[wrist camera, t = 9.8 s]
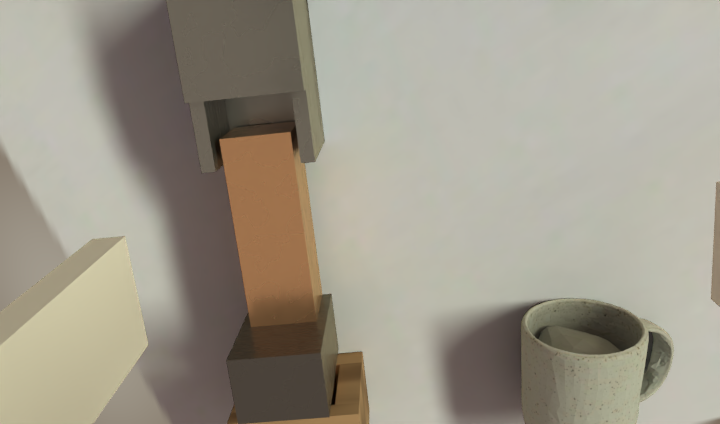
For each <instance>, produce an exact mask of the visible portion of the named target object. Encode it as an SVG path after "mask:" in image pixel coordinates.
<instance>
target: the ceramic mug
mask: <svg viewBox="0 0 720 424" xmlns="http://www.w3.org/2000/svg"><path fill="white" fill-rule="evenodd" d="M648 332H652V333H653V334H652V335H653V338H654V339H653V348H652V352H651V357H650V362H649V364H648V368H647V370H646V371H645V373H644V369H645V362H646V355H647V348H648V342H649V334H648ZM673 352H674V348H673V341H672V339H671V337H670V336H669V334H668V333H667V332H666V331H665V330H664V329H662V328H661V327H659V326H657V325H655V324H654V323H652V322H650V321H648V320H645V319H640V318H638V317H637V316H635V315H634V314H632V313H631V312H629V311H628V310H625V309H623V308H621V307H618V306H614V305H612V304H608V303H604V302H601V301H596V300H588V299H558V300H552V301H547V302H543V303H540V304H538V305H536V306H533V307H532V308H531V309H529V310H528V311H527V312H526V313H525V315H524V317H523V319H522V322H521V373H522V386H521V401H522V410H523V417H524V421H525V424H636V422H637V418H638V413H639V402H642V401H644V400H646V399H647V398H648V397H650V396H651V395H653V394H654V393H655V392H656V391H657V390H658V388H659V387H660V386H661V385H662V383H663V382H664V380H665V379H666V377H667V374H668V372H669V370H670V367H671V364H672V359H673Z"/></svg>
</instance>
